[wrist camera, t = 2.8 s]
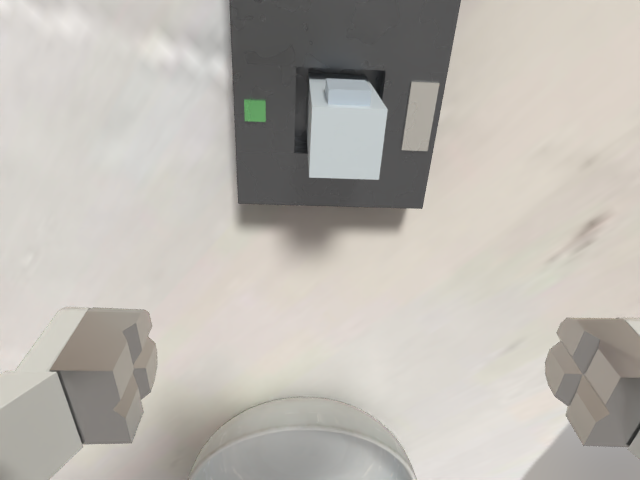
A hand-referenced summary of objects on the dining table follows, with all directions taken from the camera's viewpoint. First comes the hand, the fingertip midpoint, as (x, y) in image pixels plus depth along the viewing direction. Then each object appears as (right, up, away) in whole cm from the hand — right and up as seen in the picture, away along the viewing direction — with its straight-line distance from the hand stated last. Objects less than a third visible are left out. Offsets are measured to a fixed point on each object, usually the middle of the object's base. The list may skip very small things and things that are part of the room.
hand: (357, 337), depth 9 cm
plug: (0, +11, +20) cm, 22 cm away
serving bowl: (-3, -18, +38) cm, 42 cm away
